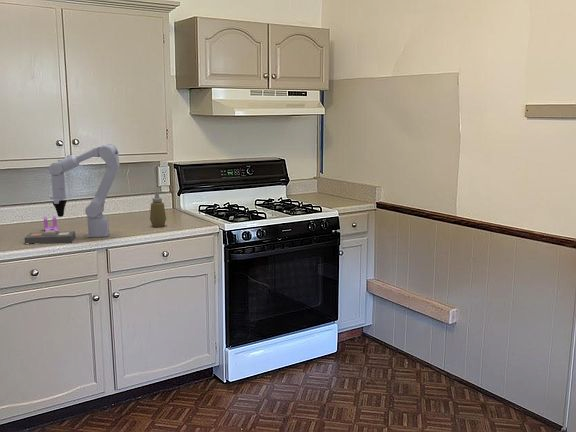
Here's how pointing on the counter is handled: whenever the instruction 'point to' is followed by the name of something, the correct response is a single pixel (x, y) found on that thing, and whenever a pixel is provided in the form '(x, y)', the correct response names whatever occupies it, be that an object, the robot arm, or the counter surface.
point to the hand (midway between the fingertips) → (60, 216)
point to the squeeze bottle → (157, 212)
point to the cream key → (64, 233)
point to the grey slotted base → (50, 238)
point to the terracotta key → (37, 234)
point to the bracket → (53, 224)
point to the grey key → (50, 233)
